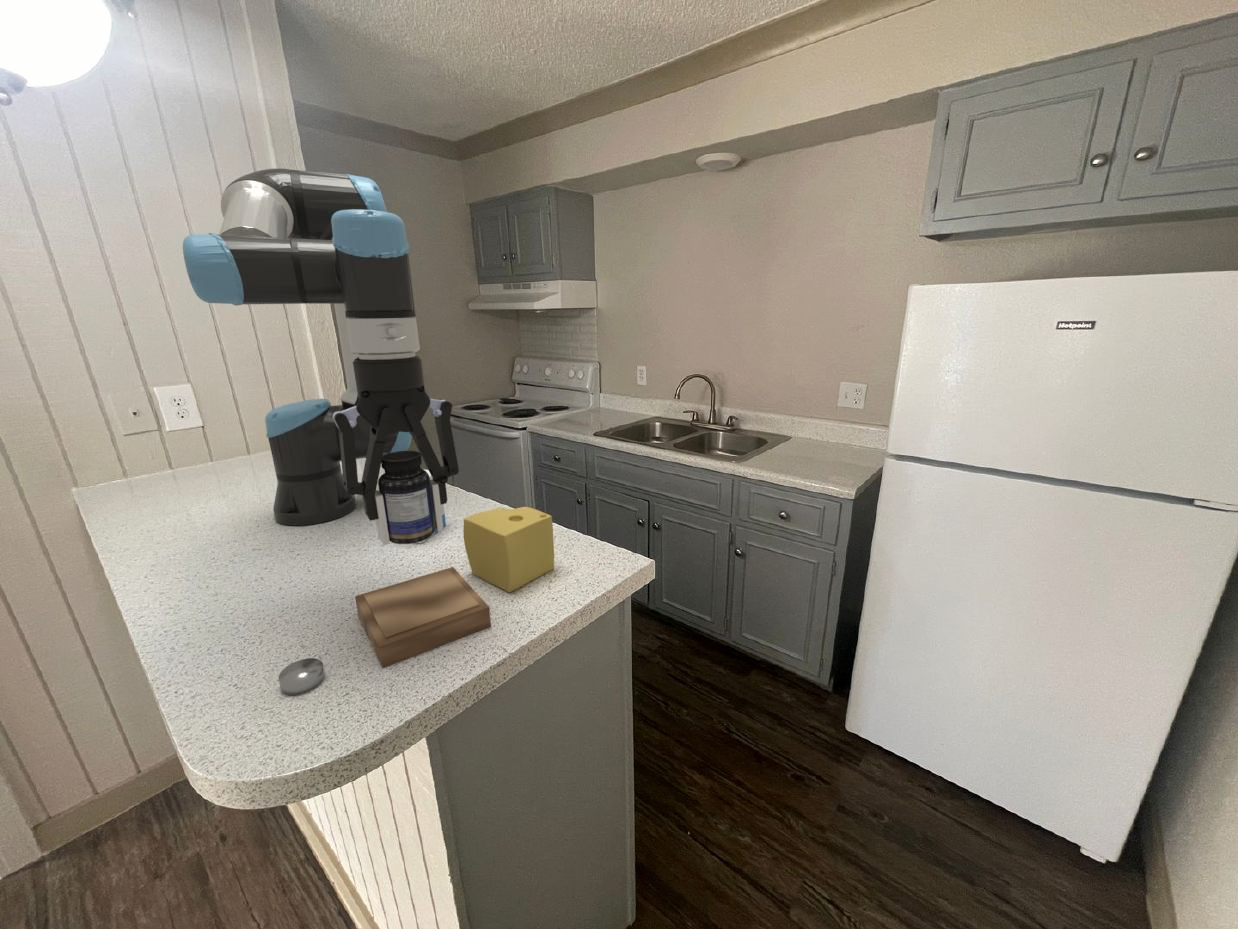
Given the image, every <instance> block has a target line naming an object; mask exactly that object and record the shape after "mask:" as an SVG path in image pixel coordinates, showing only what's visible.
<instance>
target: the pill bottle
mask: <svg viewBox="0 0 1238 929" xmlns="http://www.w3.org/2000/svg"><path fill="white" fill-rule="evenodd" d="M422 461H423V460H422V456H421V454H420V452H419V451H416V450H406V451H397V452H391V453H388V454H385V455H383V457H382V462H381V468H382V470H384V473H383V474H381V475H379V477H378V482H377V487H378V491H379V492H380V493H381V494H382V495H383V501H384V507H385V514H386V521H387V527H388V534H389V540H390V543H393V544H396V545H409V544H410V545H411V544H417V543H416V542H420V541H423V540H426V539H428V538H429V537H430V536H431V535H432V534H433V533H434V532H435V520H434V511H433V503H432V495H431V486H430V478H429V475H428V473H427V472H426V471H425V470H426V469H424V470H423V468H421V465H422ZM430 538H431V537H430ZM430 538H429V539H430ZM429 539H428V540H429Z"/></svg>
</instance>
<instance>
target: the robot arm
mask: <svg viewBox="0 0 1238 929" xmlns="http://www.w3.org/2000/svg"><path fill="white" fill-rule="evenodd" d="M220 199H221V200H220V209H221V210H220V211H221V214H222V217H223V221H222V223H221V226H220V230H219V232H218V234H217V233H214V232H208V233H207V234H206V233H205V234H202V233H201V234H197V233H196V234H188V235H186V236H185V238H184V239H183V242H182V252H183V253H182V254H183V260H184V265H185V268H186V273H187V276H188V279H189V282H190V285H191V287H192V289H193V292H194V293H195V295H196V296H197V298H198V299H199V300H201V301H203V303H204V302H205V303H209V304H219V305H220V304H221V305H222V304H223V305H224V304H225V305H226V304H227V305H233V306H236V307H237V306H241V305H242V306H243V305H286V304H287V305H289V304H290V305H294V304H295V305H296V304H297V305H298V304H309V305H310V304H311V305H312V304H315V305H316V304H320V305H321V304H323V305H325V304H326V305H328V304H330V305H333V304H334V311H335V312H334V313H335V318H336V323H337V324H336V325H337V328H338V329H337V330H338V336H339V343H340V348H341V354H342V360H343V367H344V373H345V379H346V380H345V381H346V386H347V388H346V390H344V392H343V393H342V394H341V396H340V400H341V404H339V405H332V403H331V402H330V400H328V399H326V398H317V399H314V398H313V399H307V400H305V399H304V400H301V401H296V402H293V403H288V404H284V405H281V406H278V407H276V408H273V409H271V410H269V412H267V414H266V416H265V417H264V420H265V421H264V422H265V428H266V429H265V430H266V434H265V435H266V438H268V442H269V447H270V452H271V457H272V460H273V466H274V471H275V476H276V481H277V485H276V491H275V497H274V502H273V503H274V504H273V507H272V508H273V509H272V510H273V515H274V520H275V522H276V523H278V524H281V525H283V526H284V525H285V526H308V525H315V524H316V525H317V524H321V523H325V522H329V521H333V520H336V519H339V518H341V517H344V516H346V515H348V514H350V513H352V512H354V510H355V509H356V508H357V500H356V495H357V496H361V497H362V501H363V506H364V512H365V515H366V517H367V518H368V520H369V521H370V522H371V521H374V520H375V523H376V531H377V536H378V537H377V538H378V539H379V540H380V542H381V544H382V545H383V546H386V545H389V544H391V542H390V540H389V534H388V527H387V521H386V514H385V507H384V501H383V495H382V494H381V493H380V492H379V489H377V487H378V480H379V478H380V472H381V468H382V464H381V462H382V457H383V455H385V454H388V453H391V452H397V451H408V450H409V448H410V446H411V444H412V443H411V442H412V439H413V442H414V443H415V445H416V447H417V450H418V452H419V453H420V454H421V459H423V460H422V461H423V462H424V464H425V466H426V468H427V470H429V472H430V474H431V476H432V478H433V480H432V479H430V486H431V495H432V503H433V511H434V520H435V529H436V530H437V531H438V532H441V531H444V527H443V521H442V512H441V505H442V504H444V505H446V504H447V502H448V494H447V482H448V481H449V478H450V477H452V476H455V475H458V474H459V472H460V471H459V470H460V469H459V464H458V458H457V454H456V453H457V452H456V446H455V440H454V435H453V430H452V429H453V428H452V425H451V415H452V409H453V404H452V403H451V402H450V401H448V400H446V399H443V398H440V399H434V398H431V397H430V396H429V395H428V394H427V392H426V388H425V380H424V372H423V370H424V369H423V363H422V358H420V356H418V355H416V352H417V353H418V351H419V350H420V349H421V348H420V346H421V345H420V340H419V332H418V324H417V316H416V315H417V313H416V308H415V301H414V290H413V281H412V280H413V279H412V273H411V272H412V271H411V264H410V263H411V262H410V254H409V252H410V250H411V249H410V248H411V247H410V244H409V243H408V238H407V233H406V226H405V223H404V221H403V219H402V218H401V217H400V216H399V215H397V214H395V213H391V212H388V210H387V207H386V203H385V200H384V197H383V195H382V192H381V189H380V187H379V186H378V184H377V183H376V182H375V181H374V180H373V179H372V178H370V177H365V176H359V175H353V174H349V173H346V174H345V173H333V172H322V171H310V170H299V169H298V170H297V169H290V168H268V169H267V168H266V169H260V170H257V171H253V172H250V173H247V174H245V175H241V176H240V177H238V178H236V179H235V180H233V181H232V182H231V183H229V184H228V185H227V186H226V188H225V189H224V191H223V193H222V195H221V198H220ZM428 409H430V413H431V414H432V416H434V422H435V429H436V434H437V439H438V444H439V449H440V453H441V454H440V455H441V460H442V465H443V466H441V463H440V461H439V459H438V457H437V455H436V453H435V451H434V449H433V447H432V444H431V443H430V440H429V438H428V436H427V433H426V430H425V427H424V426H423V424H422V419H423V418H424V416H425V415H426V412H427V410H428ZM358 459H365V462H364V467H363V473H362V477H361V482H360V481H359V477H358V476H359V475H358V466H357V460H358Z"/></svg>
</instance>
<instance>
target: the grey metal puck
mask: <svg viewBox="0 0 1238 929" xmlns="http://www.w3.org/2000/svg"><path fill="white" fill-rule="evenodd" d="M325 673H326V672H325V669H324V664H323V661H322V660H321V659H318V658H314V657H312V658H311V657H310V658H304V659H303V658H302V659H300V660H297V661H295V662H292V663H291V664H289V665H287V666H286V667H284V668H283V669H282V670H281V672H280V673H279V675H278V681H279V685H280V689H281V692H282V694H284V695H286V696H290V697H291V696H292V697H294V696H296V697H297V696H299V695H300V696H301V695H304V694H307V693H309V692H311V691H313V690H315V689H317V688H318V687H319V686H321V684H322V683H323V682H324V680H325V679H326V674H325Z"/></svg>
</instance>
